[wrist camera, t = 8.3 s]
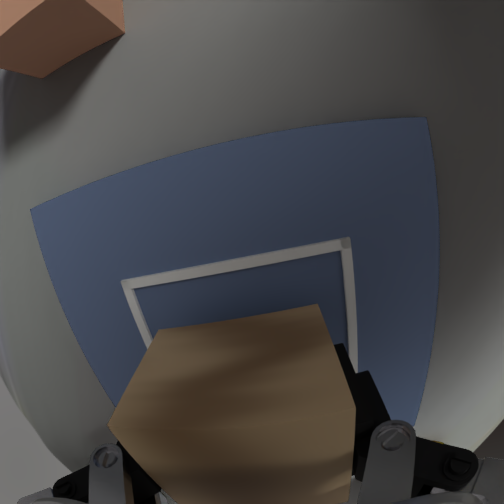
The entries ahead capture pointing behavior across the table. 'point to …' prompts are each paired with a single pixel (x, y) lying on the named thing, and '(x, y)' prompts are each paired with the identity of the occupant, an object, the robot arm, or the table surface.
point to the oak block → (242, 412)
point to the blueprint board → (259, 247)
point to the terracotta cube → (54, 32)
